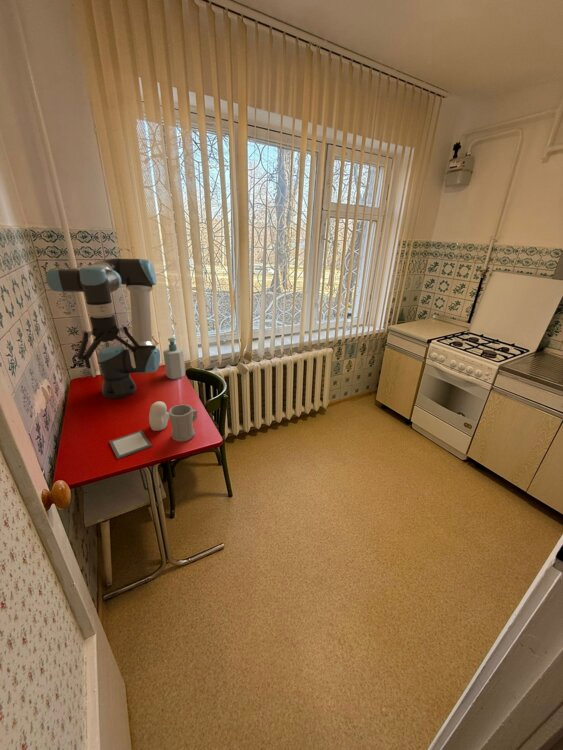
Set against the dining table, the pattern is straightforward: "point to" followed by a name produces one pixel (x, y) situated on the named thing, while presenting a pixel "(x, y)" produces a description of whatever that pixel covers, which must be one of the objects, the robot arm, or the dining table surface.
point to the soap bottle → (174, 361)
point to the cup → (182, 422)
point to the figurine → (158, 416)
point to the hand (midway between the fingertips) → (114, 371)
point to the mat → (129, 444)
